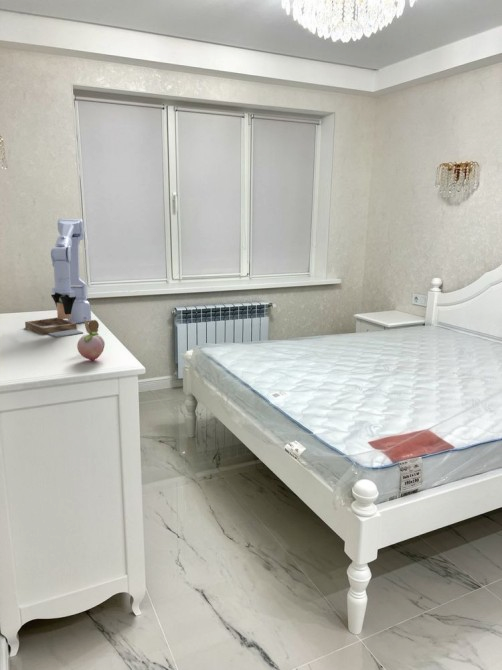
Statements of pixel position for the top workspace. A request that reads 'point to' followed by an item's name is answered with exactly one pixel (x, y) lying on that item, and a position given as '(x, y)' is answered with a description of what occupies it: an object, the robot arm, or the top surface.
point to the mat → (65, 333)
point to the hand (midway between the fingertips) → (64, 313)
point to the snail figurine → (91, 326)
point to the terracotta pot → (62, 310)
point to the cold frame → (62, 323)
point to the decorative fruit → (91, 345)
